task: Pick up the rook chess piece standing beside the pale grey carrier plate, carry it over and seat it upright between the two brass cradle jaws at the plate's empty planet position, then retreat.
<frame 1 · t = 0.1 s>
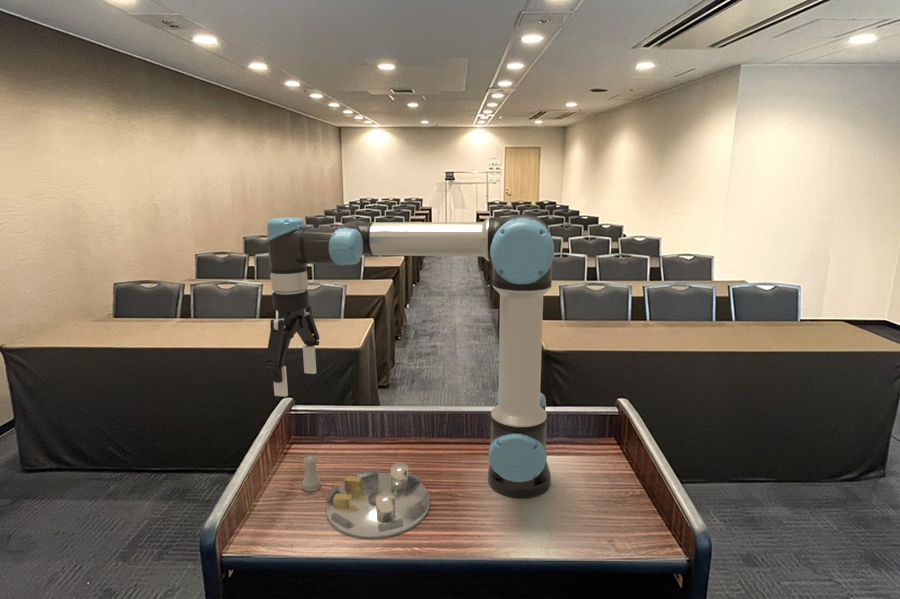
hand: (296, 383, 124), 28 cm above the table, fingers open, 13 cm apart
rook chess piece: (311, 488, 133), on the table
carrier plate: (378, 505, 125), on the table
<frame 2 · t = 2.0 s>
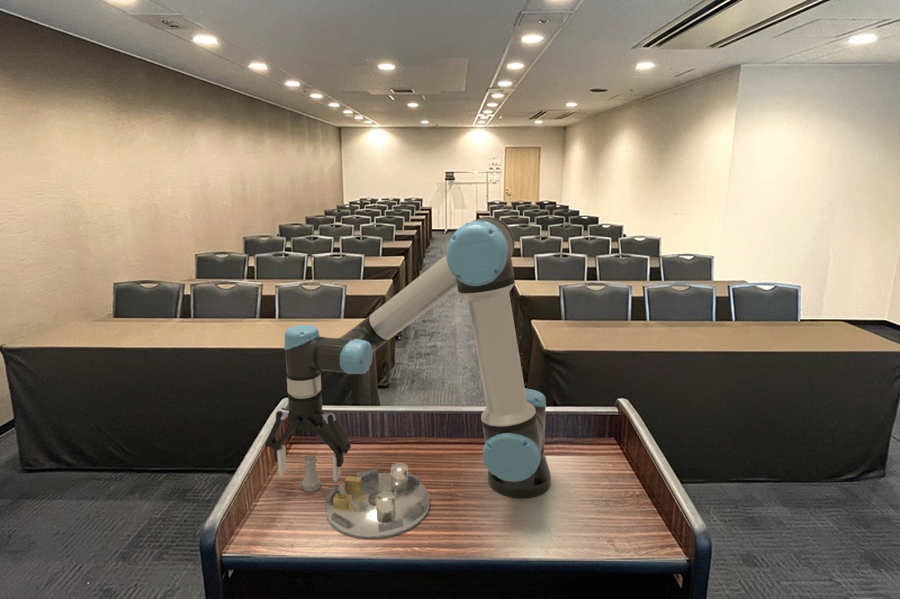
hand: (309, 475, 132), 3 cm above the table, fingers open, 13 cm apart
nothing on the table moved.
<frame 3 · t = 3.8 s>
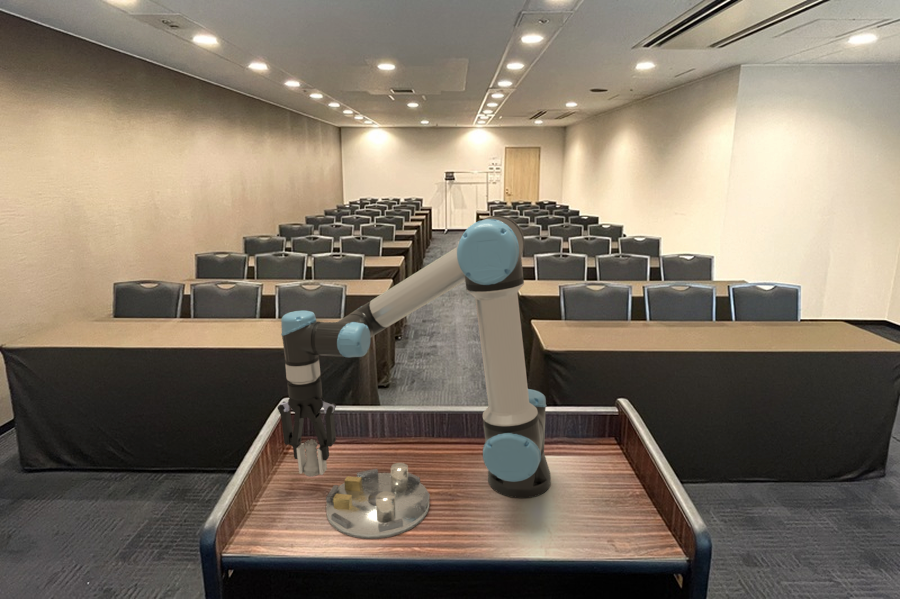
hand: (313, 470, 132), 4 cm above the table, fingers closed on rook chess piece, 4 cm apart
rook chess piece: (313, 473, 132), point 4 cm above the table, touching gripper
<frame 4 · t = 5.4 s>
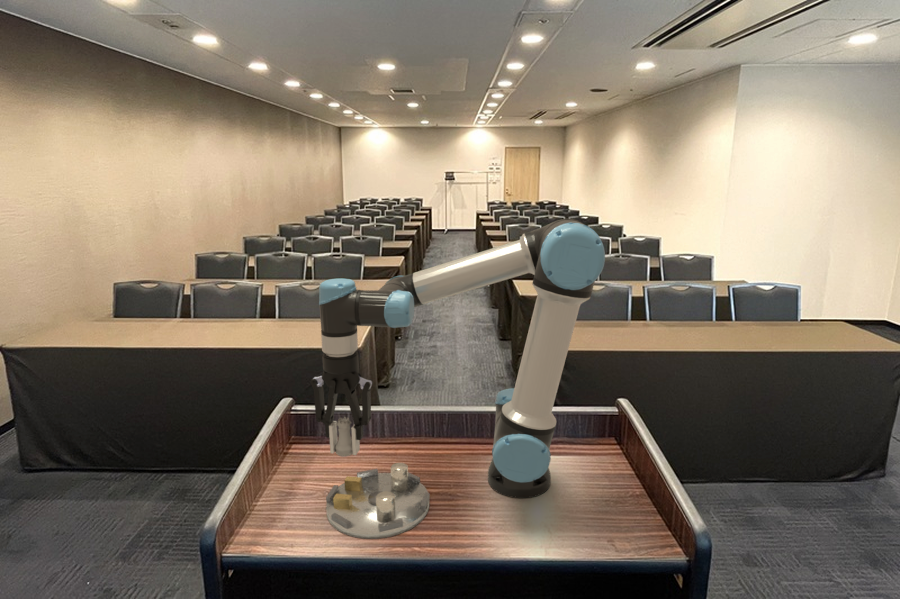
hand: (345, 451, 124), 13 cm above the table, fingers closed on rook chess piece, 4 cm apart
rook chess piece: (345, 453, 124), point 13 cm above the table, touching gripper
when the fingers open (2 cm above the table, at t = 7.1 s): rook chess piece stays where it is, resting on carrier plate.
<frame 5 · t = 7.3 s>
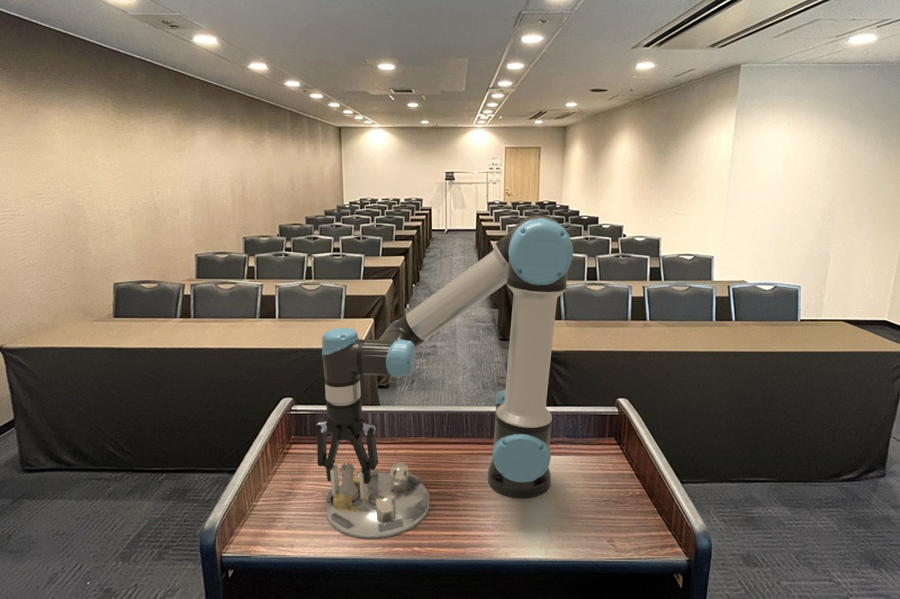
hand: (349, 493, 126), 2 cm above the table, fingers open, 6 cm apart
rook chess piece: (348, 498, 126), point 1 cm above the table, touching carrier plate
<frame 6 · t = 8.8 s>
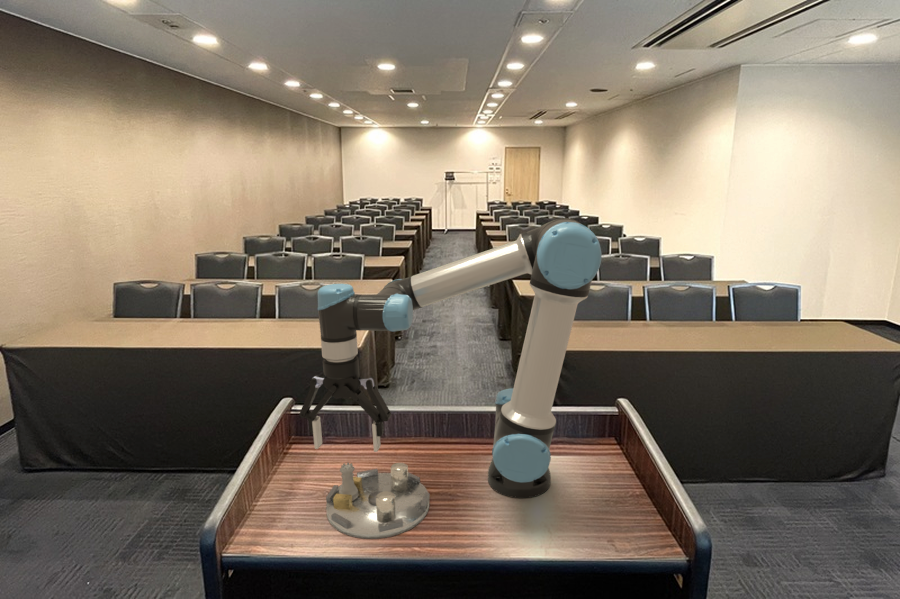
hand: (347, 447, 123), 14 cm above the table, fingers open, 13 cm apart
nothing on the table moved.
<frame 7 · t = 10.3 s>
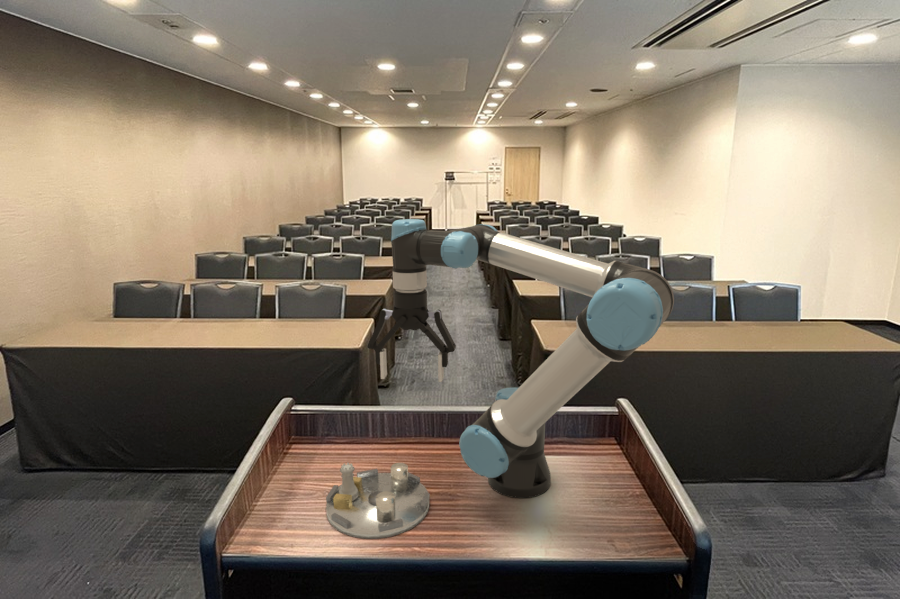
hand: (412, 378, 129), 27 cm above the table, fingers open, 13 cm apart
nothing on the table moved.
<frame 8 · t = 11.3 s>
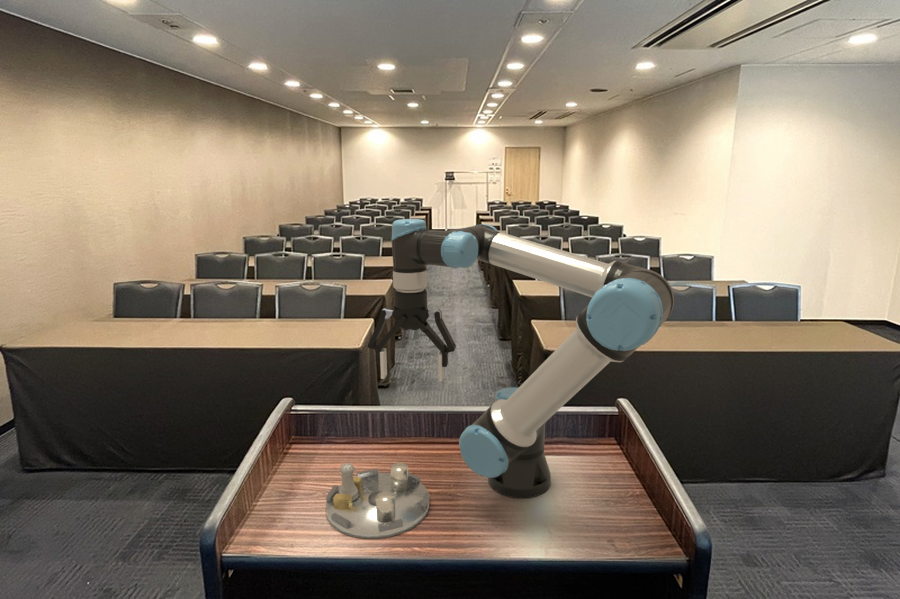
hand: (412, 378, 129), 27 cm above the table, fingers open, 13 cm apart
nothing on the table moved.
at the end: rook chess piece 0.1 cm from the target spot, point 1.3 cm above the table; rook chess piece tilted 0°; the gripper is holding nothing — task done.
